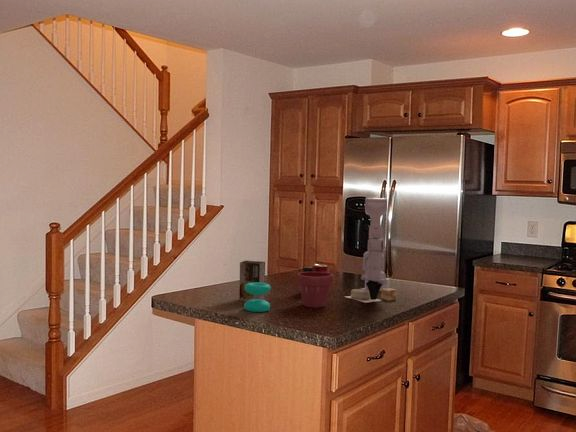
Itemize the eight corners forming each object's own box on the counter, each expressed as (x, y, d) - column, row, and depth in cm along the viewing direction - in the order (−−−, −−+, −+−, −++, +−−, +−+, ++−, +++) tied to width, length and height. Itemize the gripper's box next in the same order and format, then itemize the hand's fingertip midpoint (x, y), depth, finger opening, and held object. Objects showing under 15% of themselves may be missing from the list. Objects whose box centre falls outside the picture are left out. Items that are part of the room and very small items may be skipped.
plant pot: (297, 301, 240) (298, 270, 239) (330, 302, 239) (331, 271, 238) (296, 308, 225) (297, 275, 225) (332, 309, 225) (333, 277, 224)
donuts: (248, 281, 226) (273, 282, 224) (247, 306, 227) (272, 308, 225) (241, 285, 216) (267, 287, 214) (241, 311, 217) (267, 313, 215)
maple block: (388, 298, 251) (388, 288, 251) (396, 300, 248) (396, 289, 247) (381, 299, 249) (381, 288, 248) (388, 301, 245) (388, 290, 245)
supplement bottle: (313, 292, 259) (314, 266, 258) (316, 295, 252) (317, 268, 251) (298, 292, 258) (299, 266, 257) (301, 295, 251) (302, 268, 250)
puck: (361, 295, 255) (361, 288, 255) (373, 298, 249) (373, 291, 248) (347, 296, 251) (347, 289, 251) (359, 300, 244) (359, 293, 244)
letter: (361, 294, 257) (361, 294, 257) (383, 300, 245) (383, 300, 245) (344, 296, 251) (344, 296, 251) (365, 302, 240) (365, 302, 239)
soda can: (326, 293, 258) (327, 266, 257) (310, 292, 260) (311, 265, 259) (328, 290, 265) (329, 264, 265) (313, 289, 267) (313, 263, 266)
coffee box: (264, 300, 239) (265, 261, 239) (259, 303, 233) (260, 263, 233) (244, 298, 242) (245, 260, 242) (238, 300, 236) (239, 261, 235)
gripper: (356, 265, 246) (355, 296, 246) (379, 270, 234) (378, 303, 234) (368, 264, 250) (367, 295, 250) (392, 269, 238) (391, 301, 238)
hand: (373, 299), depth 243 cm, fingers closed
